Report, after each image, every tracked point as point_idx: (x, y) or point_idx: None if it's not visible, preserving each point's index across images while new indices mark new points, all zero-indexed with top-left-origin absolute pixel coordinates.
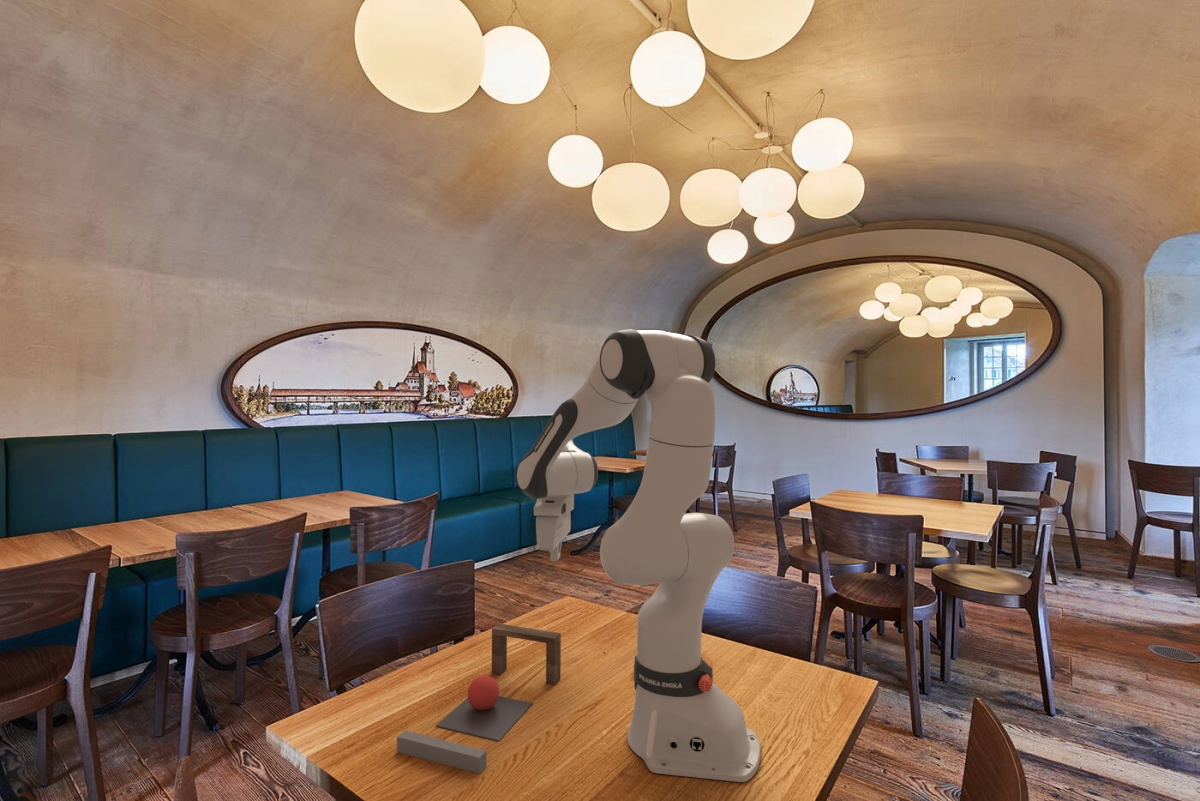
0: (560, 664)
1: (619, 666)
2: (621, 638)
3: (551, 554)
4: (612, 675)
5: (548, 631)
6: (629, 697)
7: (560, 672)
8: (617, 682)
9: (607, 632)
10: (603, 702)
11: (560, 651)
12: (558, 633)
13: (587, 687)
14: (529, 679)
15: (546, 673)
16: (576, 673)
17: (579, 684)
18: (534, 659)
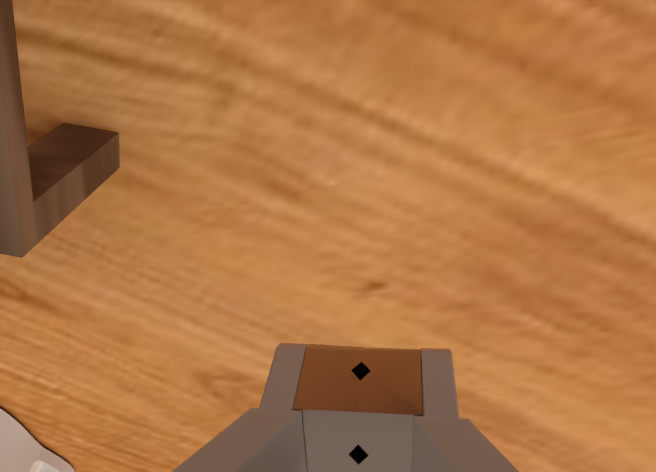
0: (93, 190)
1: (276, 339)
2: (523, 331)
3: (264, 413)
4: (206, 324)
5: (12, 195)
6: (96, 374)
7: (108, 177)
8: (167, 341)
9: (589, 276)
10: (39, 315)
11: (66, 214)
12: (15, 247)
13: (101, 263)
14: (69, 46)
15: (43, 138)
16: (180, 213)
17: (110, 236)
18: (246, 10)
